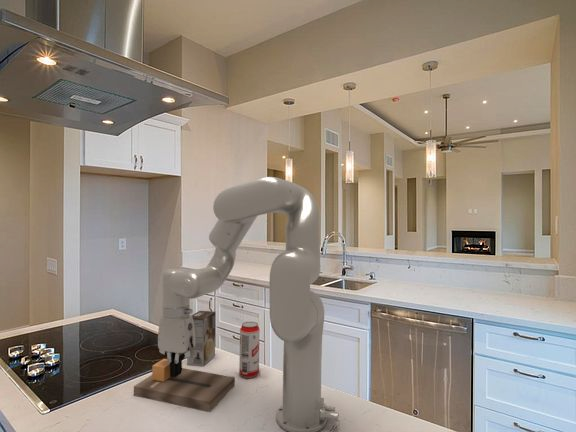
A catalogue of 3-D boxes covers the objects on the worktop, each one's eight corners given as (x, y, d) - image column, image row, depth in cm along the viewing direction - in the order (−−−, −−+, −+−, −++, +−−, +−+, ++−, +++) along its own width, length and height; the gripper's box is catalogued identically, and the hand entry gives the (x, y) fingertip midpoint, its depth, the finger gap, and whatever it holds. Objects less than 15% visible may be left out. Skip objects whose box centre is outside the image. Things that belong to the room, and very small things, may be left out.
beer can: (235, 377, 103) (236, 325, 103) (244, 368, 109) (245, 320, 109) (254, 380, 101) (254, 328, 101) (262, 371, 107) (262, 322, 107)
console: (234, 385, 97) (234, 377, 97) (209, 411, 84) (209, 401, 84) (166, 373, 105) (166, 364, 105) (133, 395, 91) (133, 385, 91)
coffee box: (199, 354, 120) (199, 310, 120) (215, 355, 118) (216, 311, 119) (186, 365, 111) (187, 317, 111) (203, 367, 109) (204, 318, 110)
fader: (174, 374, 98) (175, 360, 98) (163, 381, 94) (164, 367, 94) (163, 371, 100) (164, 358, 100) (152, 379, 95) (152, 365, 95)
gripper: (205, 310, 97) (205, 373, 97) (163, 306, 102) (162, 366, 101) (190, 317, 90) (190, 385, 90) (145, 312, 94) (145, 377, 94)
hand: (175, 374), depth 95 cm, fingers closed
